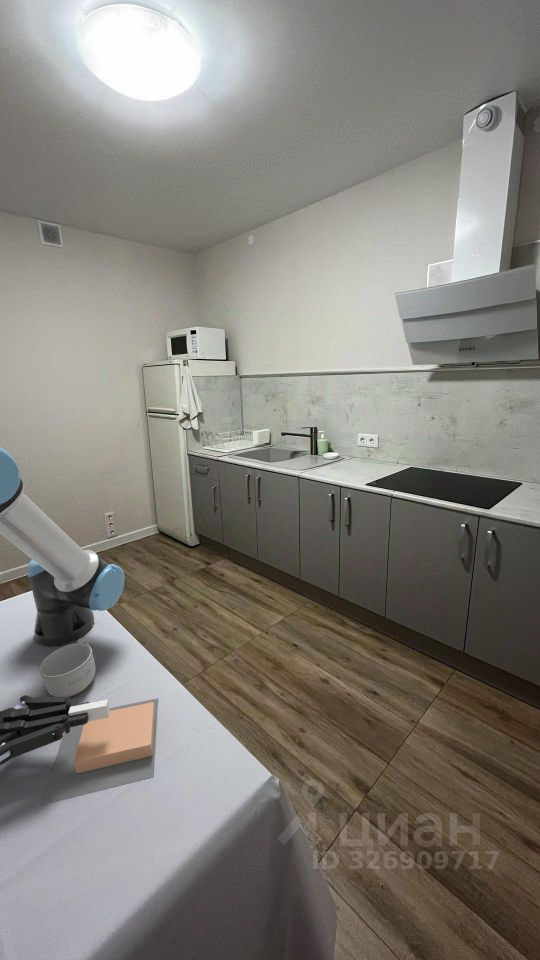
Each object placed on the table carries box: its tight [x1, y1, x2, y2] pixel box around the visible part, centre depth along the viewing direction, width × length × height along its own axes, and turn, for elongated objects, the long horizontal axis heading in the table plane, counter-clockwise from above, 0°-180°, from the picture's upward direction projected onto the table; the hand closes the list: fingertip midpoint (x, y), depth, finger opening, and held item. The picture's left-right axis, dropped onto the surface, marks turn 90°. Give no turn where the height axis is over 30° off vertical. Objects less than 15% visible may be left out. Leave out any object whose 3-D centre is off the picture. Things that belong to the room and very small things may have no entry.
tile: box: [74, 702, 155, 773], centre depth 76 cm, size 10×3×13 cm
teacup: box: [39, 637, 96, 698], centre depth 92 cm, size 14×11×8 cm
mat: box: [41, 697, 159, 806], centre depth 76 cm, size 18×18×1 cm
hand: (108, 708), depth 74 cm, fingers closed
